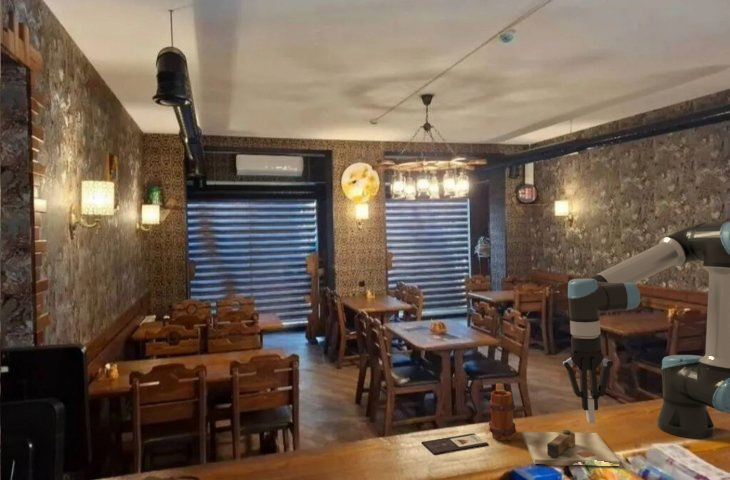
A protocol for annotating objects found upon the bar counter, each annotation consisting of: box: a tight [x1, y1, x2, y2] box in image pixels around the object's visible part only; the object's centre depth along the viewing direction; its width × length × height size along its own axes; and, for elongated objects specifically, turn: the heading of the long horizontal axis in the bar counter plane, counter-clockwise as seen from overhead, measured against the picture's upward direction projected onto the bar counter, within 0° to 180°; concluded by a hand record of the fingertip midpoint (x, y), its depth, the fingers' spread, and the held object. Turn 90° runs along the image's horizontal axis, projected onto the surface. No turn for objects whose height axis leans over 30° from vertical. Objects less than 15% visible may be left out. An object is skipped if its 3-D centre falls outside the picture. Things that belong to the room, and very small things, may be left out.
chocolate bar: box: [421, 433, 490, 456], centre depth 155 cm, size 9×1×18 cm
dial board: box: [521, 431, 621, 467], centre depth 148 cm, size 22×20×2 cm
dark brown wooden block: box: [547, 429, 575, 458], centre depth 145 cm, size 13×4×4 cm, turn 138°
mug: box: [488, 382, 517, 442], centre depth 161 cm, size 15×8×15 cm, turn 168°
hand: (590, 421), depth 139 cm, fingers closed
